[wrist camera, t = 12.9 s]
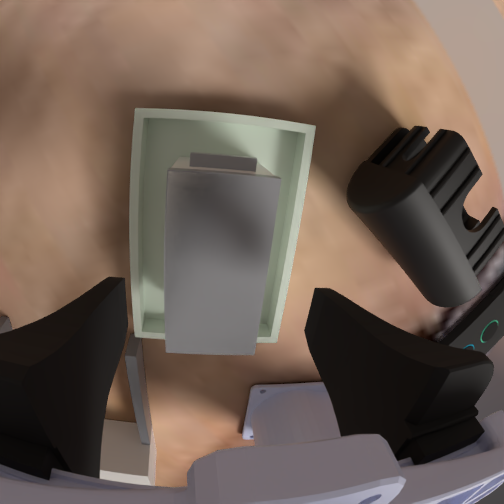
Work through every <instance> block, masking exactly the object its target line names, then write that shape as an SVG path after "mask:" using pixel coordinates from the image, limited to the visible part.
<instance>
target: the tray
mask: <svg viewBox="0 0 504 504" xmlns="http://www.w3.org/2000/svg"><path fill="white" fill-rule="evenodd" d="M315 129H316V126H314V125H308V124H302V123H297V122H291V121H284V120H278V119H271V118H264V117H256V116H248V115H239V114H230V113H220V112H209V111H196V110H180V109H157V108H135V115H134V126H133V138H132V153H131V172H130V204H129V243H130V276H131V295H132V309H133V322H134V333H135V337H140V338H152V339H165V317H164V232H165V204H166V184H167V170H168V168H171V167H172V166H173V164H174V163H175V162H176V160H177V159H178V158H179V157H190V153H191V152H199V153H213V154H226V155H237V156H247V157H256V158H257V163H260V164H261V165H262V166H263V167H265V168H266V169H267V170H268V171H270V172H271V173H272V174H273V175H275V176H278V177H280V178H281V186H280V193H279V199H278V206H277V213H276V220H275V227H274V233H273V240H272V247H271V253H270V260H269V267H268V273H267V279H266V286H265V292H264V299H263V305H262V311H261V317H260V324H259V330H258V336H257V342H256V343H277V339H278V334H279V330H280V325H281V320H282V315H283V311H284V306H285V301H286V296H287V291H288V286H289V281H290V275H291V270H292V265H293V260H294V255H295V249H296V244H297V238H298V233H299V227H300V222H301V216H302V210H303V204H304V199H305V193H306V187H307V181H308V174H309V168H310V162H311V156H312V149H313V143H314V136H315Z"/></svg>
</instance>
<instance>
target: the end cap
mask: <svg viewBox="0 0 504 504" xmlns="http://www.w3.org/2000/svg"><path fill="white" fill-rule="evenodd" d="M429 133H430V131H429V130H428V128H427V127H422V126H414V127H413V128H412V129H411V130H410V131H409V130H408V129H407V128H398V129H396V130H395V131H394V132H393V133H392V134H391V135H390V136H389V137H388V138H387V139H386V140H385V141H384V143H383V144H382V145H381V146H380V147H379V148H378V149H377V150H376V151H375V152H374V153H373V154H372V155H371V156H370V158H369V159H368V160H367V161H364V162H363V163H362V164H361V165H360V166H359V167H358V169H357V170H356V172H355V173H354V175H353V177H352V178H351V180H350V183H349V186H348V190H347V202H348V204H349V206H350V208H351V209H352V210H353V211H354V212H355V213H356V215H357V216H358V217H359V218H360V219H361V220H362V221H363V222H364V224H365V225H366V226H367V227H368V228H369V229H370V230H371V232H372V233H373V234H374V235H375V236H376V237H377V239H378V240H379V241H380V242H381V243H382V245H383V246H384V247H385V248H386V249H387V251H388V252H389V253H390V254H391V255H392V257H393V258H394V259H395V260H396V261H397V263H398V264H399V265H400V266H401V268H402V269H403V270H404V271H405V273H406V274H407V275H408V276H409V278H410V279H411V280H412V282H413V283H414V284H415V285H416V287H417V288H418V289H419V291H420V292H421V293H422V295H423V296H424V297H425V298H426V299H427V300H428V301H429V302H430V303H432V304H434V305H436V306H439V307H455V306H459V305H462V304H464V303H466V302H468V301H470V300H471V299H472V298H474V297H475V296H476V295H477V294H478V293H479V292H480V291H481V290H482V288H481V286H480V284H479V282H478V280H477V278H476V276H477V275H478V273H479V272H480V271H481V270H482V268H483V267H484V266H485V265H486V263H487V262H488V261H489V260H490V258H491V257H492V256H493V254H494V253H495V252H496V250H497V249H498V248H499V246H500V245H501V244H502V242H503V241H504V224H503V222H502V219H501V216H500V214H499V211H498V209H497V208H495V207H492V208H491V210H490V211H489V212H488V214H487V215H486V216H485V218H484V219H483V220H482V222H481V223H480V221H479V220H477V219H475V218H473V217H471V216H469V215H468V214H467V212H466V210H465V208H464V206H463V204H464V201H465V198H466V196H467V194H468V193H469V191H470V190H471V189H472V187H473V186H474V185H475V184H476V182H477V181H478V180H479V178H480V177H481V176H482V172H481V170H480V168H479V166H478V164H477V162H476V160H475V158H474V156H473V154H472V152H471V150H470V148H469V147H468V145H467V143H466V141H465V140H464V138H463V137H462V136H461V135H460V134H459V133H457V132H455V131H451V130H444V129H440V130H439V131H438V132H437V133H436V134H435V135H434V137H433V138H432V139H431V140H430V141H429V142H428V143H427V144H426V142H425V141H424V139H425V137H426V136H427V135H428V134H429Z"/></svg>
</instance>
